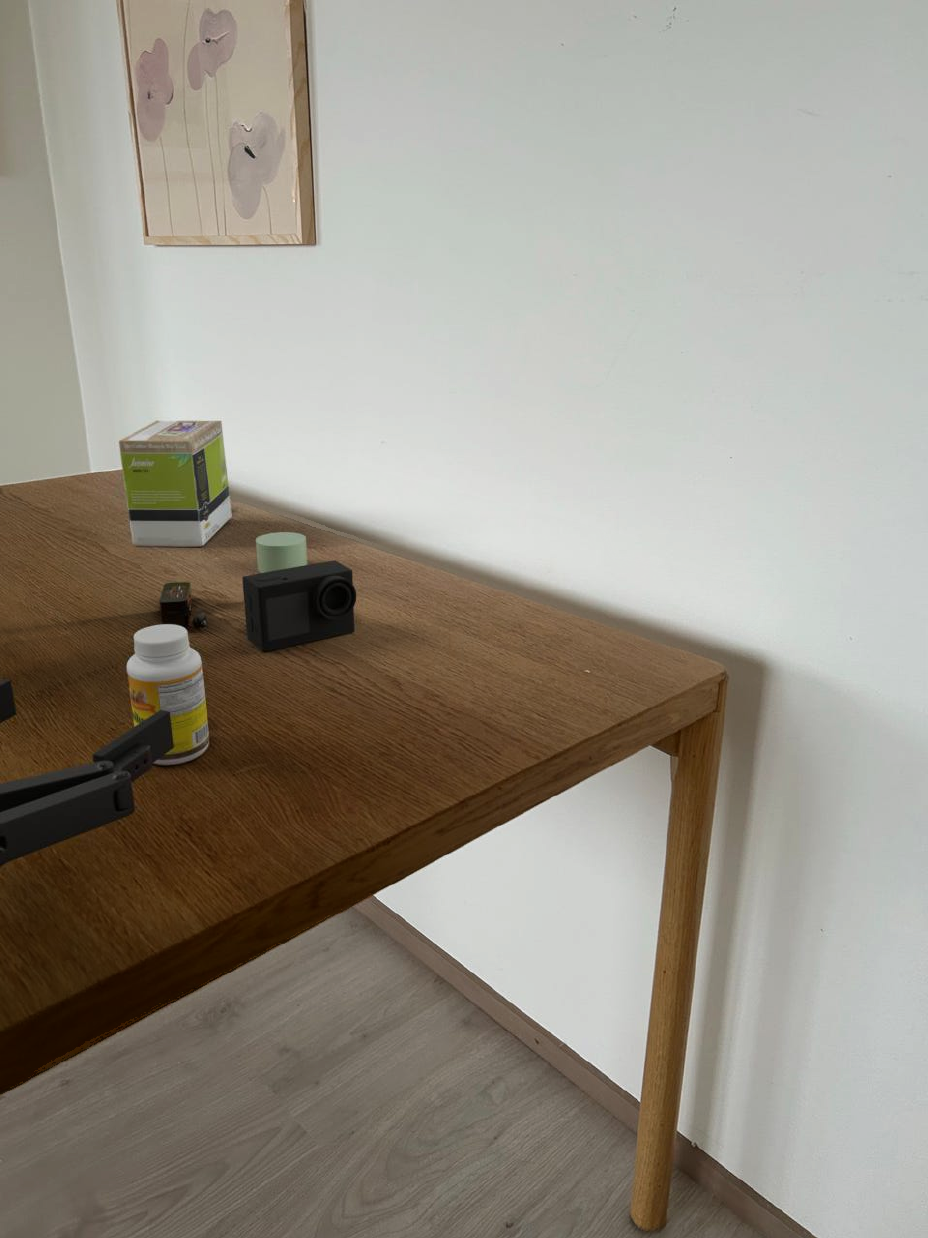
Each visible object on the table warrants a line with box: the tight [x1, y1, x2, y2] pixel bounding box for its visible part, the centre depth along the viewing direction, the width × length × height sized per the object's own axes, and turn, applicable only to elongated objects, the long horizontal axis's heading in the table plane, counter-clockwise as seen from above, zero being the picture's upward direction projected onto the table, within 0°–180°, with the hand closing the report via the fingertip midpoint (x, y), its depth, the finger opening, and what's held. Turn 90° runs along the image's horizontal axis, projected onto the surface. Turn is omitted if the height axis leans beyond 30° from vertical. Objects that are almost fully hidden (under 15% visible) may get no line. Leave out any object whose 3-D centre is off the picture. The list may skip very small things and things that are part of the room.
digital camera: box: [241, 559, 357, 653], centre depth 98 cm, size 10×5×7 cm, turn 123°
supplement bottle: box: [126, 623, 210, 766], centre depth 75 cm, size 6×6×10 cm
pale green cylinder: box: [255, 531, 309, 573], centre depth 116 cm, size 6×6×5 cm
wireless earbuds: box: [159, 581, 208, 629], centre depth 103 cm, size 5×7×3 cm, turn 11°
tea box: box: [118, 420, 233, 548], centre depth 133 cm, size 15×10×15 cm, turn 178°
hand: (86, 711), depth 66 cm, fingers open, 13 cm apart
